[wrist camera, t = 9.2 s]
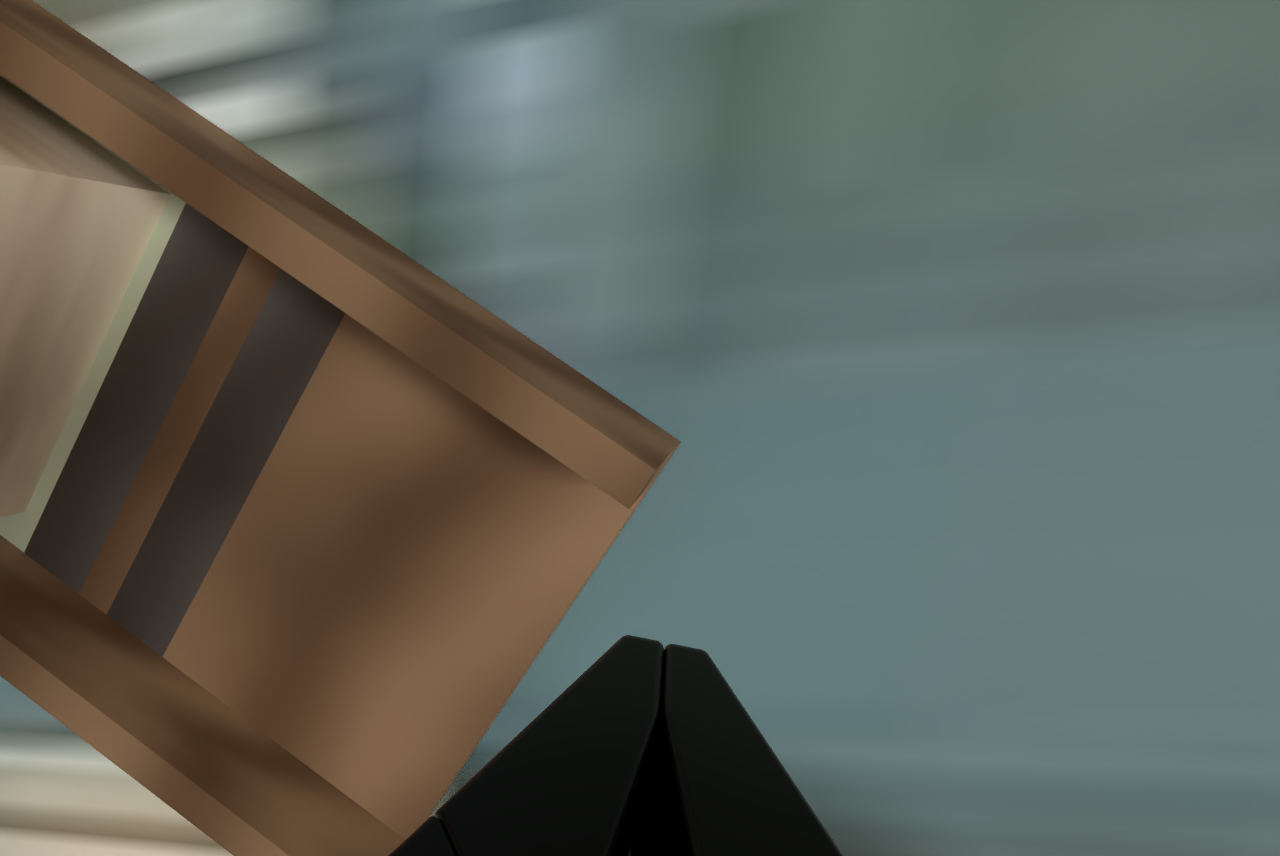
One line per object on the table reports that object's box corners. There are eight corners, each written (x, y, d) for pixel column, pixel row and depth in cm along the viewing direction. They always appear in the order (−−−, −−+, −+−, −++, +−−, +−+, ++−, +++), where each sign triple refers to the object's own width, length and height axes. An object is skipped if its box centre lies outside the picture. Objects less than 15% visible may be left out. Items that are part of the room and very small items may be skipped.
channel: (680, 441, 20) (655, 469, 16) (410, 845, 23) (341, 938, 20) (-38, -47, 22) (-194, -113, 18) (-196, 389, 25) (-355, 402, 21)
